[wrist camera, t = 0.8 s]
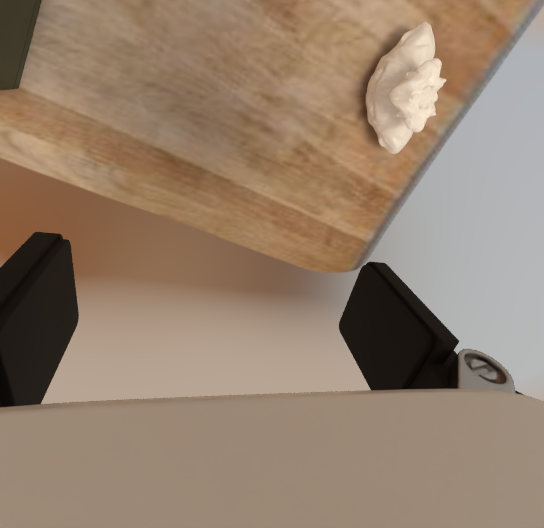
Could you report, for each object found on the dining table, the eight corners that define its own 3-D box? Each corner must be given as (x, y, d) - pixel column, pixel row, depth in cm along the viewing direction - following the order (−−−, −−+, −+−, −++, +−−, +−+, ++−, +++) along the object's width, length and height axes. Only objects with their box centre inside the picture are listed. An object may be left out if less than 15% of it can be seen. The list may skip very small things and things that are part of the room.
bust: (386, 28, 35) (364, 8, 26) (462, 30, 32) (466, 8, 24) (363, 143, 41) (339, 158, 32) (426, 152, 39) (418, 171, 30)
